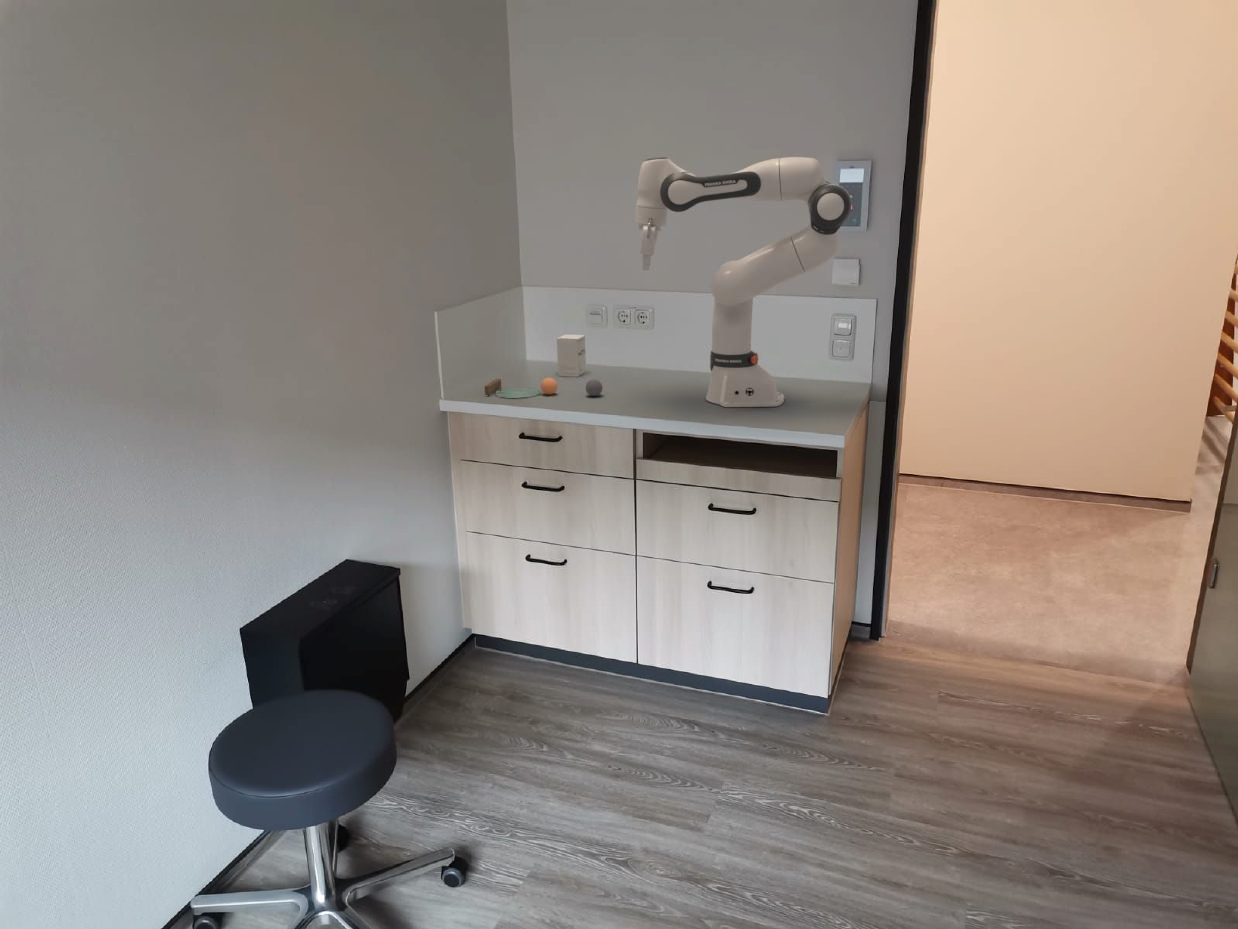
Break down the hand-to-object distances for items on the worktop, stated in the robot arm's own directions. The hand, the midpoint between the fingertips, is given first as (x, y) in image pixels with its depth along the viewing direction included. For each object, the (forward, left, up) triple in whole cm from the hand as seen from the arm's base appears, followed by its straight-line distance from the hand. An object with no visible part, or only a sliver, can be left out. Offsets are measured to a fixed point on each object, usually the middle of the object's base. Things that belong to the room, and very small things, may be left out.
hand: (646, 267), depth 260 cm
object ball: (+30, +2, -35) cm, 46 cm away
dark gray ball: (+16, +2, -35) cm, 39 cm away
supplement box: (+30, -25, -38) cm, 54 cm away
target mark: (+40, +2, -38) cm, 55 cm away
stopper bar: (+48, +2, -38) cm, 61 cm away
